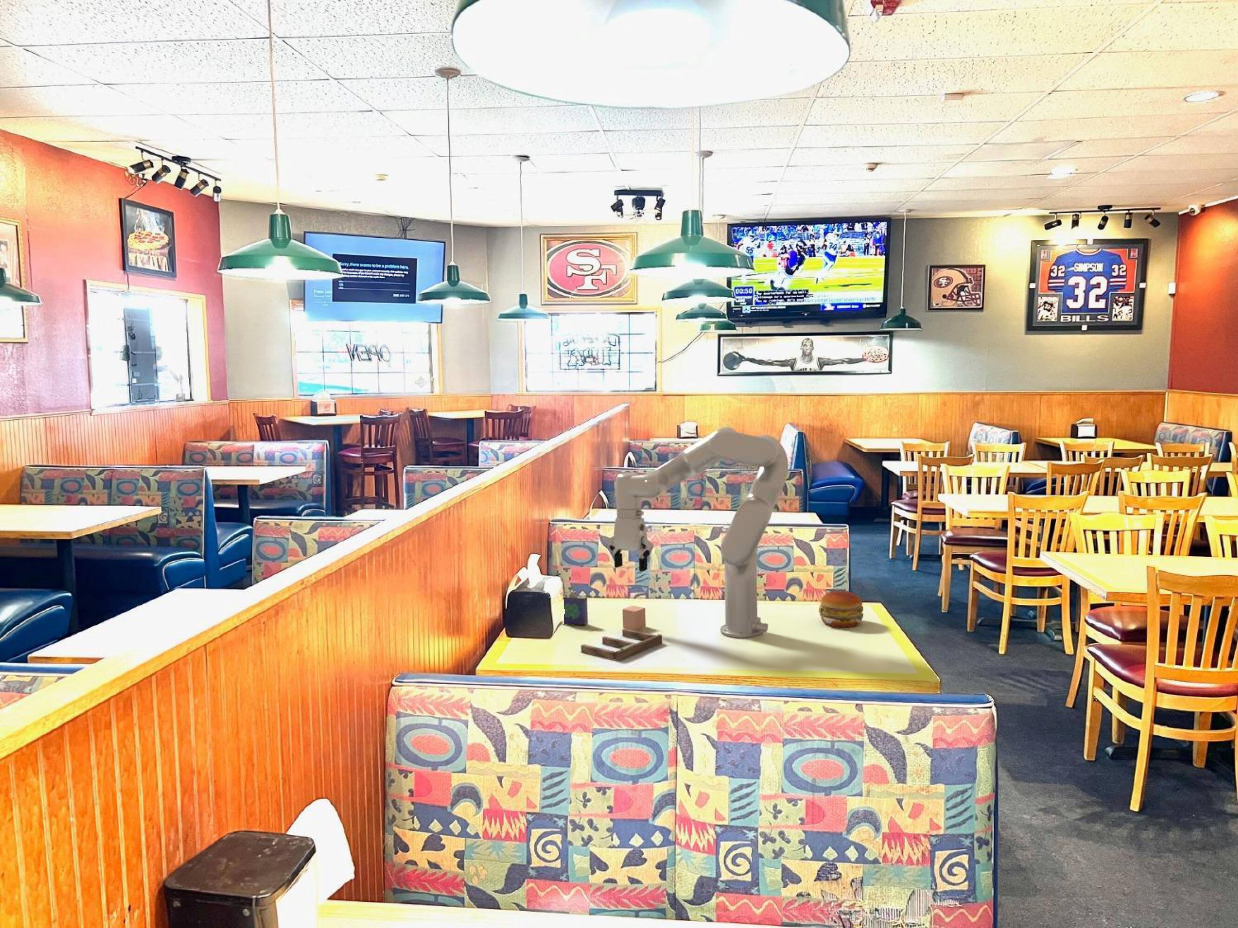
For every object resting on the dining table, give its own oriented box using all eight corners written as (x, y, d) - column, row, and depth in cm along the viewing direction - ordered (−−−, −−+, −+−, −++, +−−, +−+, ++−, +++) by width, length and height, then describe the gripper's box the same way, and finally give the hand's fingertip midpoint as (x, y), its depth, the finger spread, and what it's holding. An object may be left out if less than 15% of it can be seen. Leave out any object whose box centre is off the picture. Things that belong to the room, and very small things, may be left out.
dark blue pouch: (589, 624, 279) (588, 590, 278) (585, 626, 276) (584, 592, 275) (562, 621, 282) (561, 588, 281) (558, 624, 280) (557, 591, 279)
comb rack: (662, 643, 257) (662, 633, 257) (619, 661, 242) (618, 650, 242) (625, 635, 266) (624, 625, 265) (581, 652, 251) (580, 642, 251)
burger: (846, 632, 262) (846, 599, 261) (809, 623, 272) (809, 591, 271) (872, 623, 271) (872, 591, 270) (835, 614, 281) (835, 584, 280)
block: (645, 626, 274) (645, 607, 274) (635, 630, 270) (635, 611, 270) (633, 624, 277) (632, 605, 277) (623, 628, 274) (622, 609, 273)
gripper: (659, 514, 267) (660, 569, 269) (615, 509, 278) (616, 563, 280) (644, 517, 262) (645, 574, 263) (599, 513, 273) (601, 567, 274)
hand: (630, 568), depth 272 cm, fingers open, 9 cm apart
